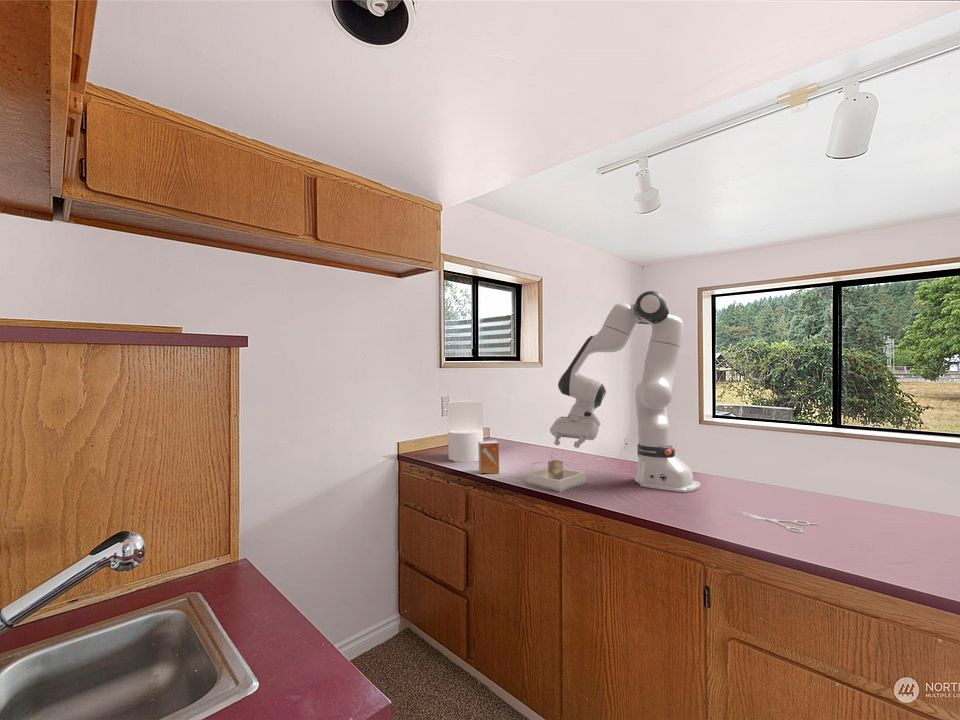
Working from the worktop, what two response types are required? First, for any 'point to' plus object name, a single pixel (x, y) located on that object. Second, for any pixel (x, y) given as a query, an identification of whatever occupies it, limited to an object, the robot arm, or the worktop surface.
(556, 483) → the bin
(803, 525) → the scissors
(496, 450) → the small box
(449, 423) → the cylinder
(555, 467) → the beech block
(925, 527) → the worktop surface
